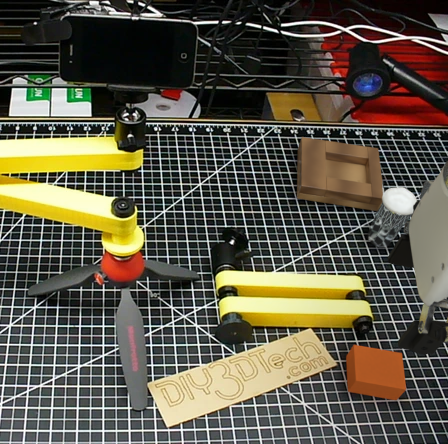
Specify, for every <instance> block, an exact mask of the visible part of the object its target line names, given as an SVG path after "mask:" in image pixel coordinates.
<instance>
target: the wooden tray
mask: <svg viewBox="0 0 448 444" xmlns="http://www.w3.org/2000/svg"><path fill="white" fill-rule="evenodd" d="M296 160H297V161H296V163H297V165H296V166H297V168H296V169H297V170H296V171H297V173H296V199H299V200H305V201H311V202H318V203H324V204H329V205H336V206H342V207H343V206H344V207H348V208H353V209H354V208H355V209H361V210H368V211H374V212H377V210H378V207H379V204H380V201H381V199H382V196H383V189H382V181H383V176H382V169H381V159H380V152H379V148H378V147H373V146H372V147H371V146H365V145H358V144H352V143H344V142H340V141H339V142H338V141H332V140H324V139H317V138H311V137H306V136H305V137H304V136H301V137H300V141H299V145H298V147H297V159H296Z"/></svg>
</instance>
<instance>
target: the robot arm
mask: <svg viewBox="0 0 448 444" xmlns="http://www.w3.org/2000/svg"><path fill="white" fill-rule="evenodd" d="M403 233H404V234H403ZM403 233H402V234H400V236H399V238H398V239H397V241H396V243H395V244H394V246H393V247H392V250H391V251H390V253H389V254H388V255H387V261H388V263H389V264H390V265H393V266H400V267H406V268H411V269H413V270H414V276H415V282H416V287H417V292H418V293H417V294H418V295H419V298H420V300H421V301H422V303H423V304H422V307H421V313H420V315H419V319H414V320H413V321H412V322H411V323H410V325H409V326H408V327H407V328H406V329H405V331H404V332H403V334H402V335H401V336H400V337H399V339H398V340H397V347H398V349H401V350H406V351H412V352H413V353H414V354H417V355H429V354H431V355H432V354H435V353H436V351H437V350H438V349H439V348H440V347H441V346H442V345H443V344H448V317H447V319H446V321H443V320H442V321H441V320H435V319H434V314H435V310H436V308H440V309H445V310H448V159H446V162H445V163H444V165H443V167H442V169H441V170H440V173H439V174H438V175H437V176H436V177H435V179H434V180H427V179H426V180H425V181H424V183H423V185H422V188H421V190H420V194H419V200H417V201H416V203H415V205H413V215H412V216H411V217H410V219H409V220H408V221H407V222H406V223H405V224H404V226H403Z"/></svg>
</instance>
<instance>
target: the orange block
mask: <svg viewBox="0 0 448 444" xmlns="http://www.w3.org/2000/svg"><path fill="white" fill-rule="evenodd" d="M345 361H346V380H347V382H346V383H347V392H348V393H353V394H359V395H364V396H370V397H374V398H382V399H387V400H392V401H397V400H398V399H400V397H401V396H402V395H403V394H404V393H405V392H406V391H407V385H406V376H405V367H404V359H403V353H402V352H398V351H392V350H386V349H382V348H376V347H369V346H364V345H358V344H353V345H352V347H350V350H349V351H348V353H347V354H346V355H345Z"/></svg>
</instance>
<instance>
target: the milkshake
mask: <svg viewBox="0 0 448 444" xmlns="http://www.w3.org/2000/svg"><path fill="white" fill-rule="evenodd" d="M382 189H383V196H382V199H381V201H380V204H379V207H378V210H377V211H375V215H374V217H373V219H372V222H371V224H370V227H369V229H368V232H367V240H368V241H369V243H371V245H373V246H375V247H377V248H387V247H388V246H389V245H391V243H392V242H393V241H394V239H395V238H396V237H397V235H398V234H399V232H400V231H401V230H402V229H403V228H404V226H405V223H406V222H407V221H410V219H411V217H412V215H413V205H415V203H416V201H418V199H417V197H416V196H415V194H414V193H413V192H411V191H410V190H409V189H407V188H406V187H402V186H401V187H399V186H398V187H390V188H388V189H386V190H385V187H384V180H382Z"/></svg>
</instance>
